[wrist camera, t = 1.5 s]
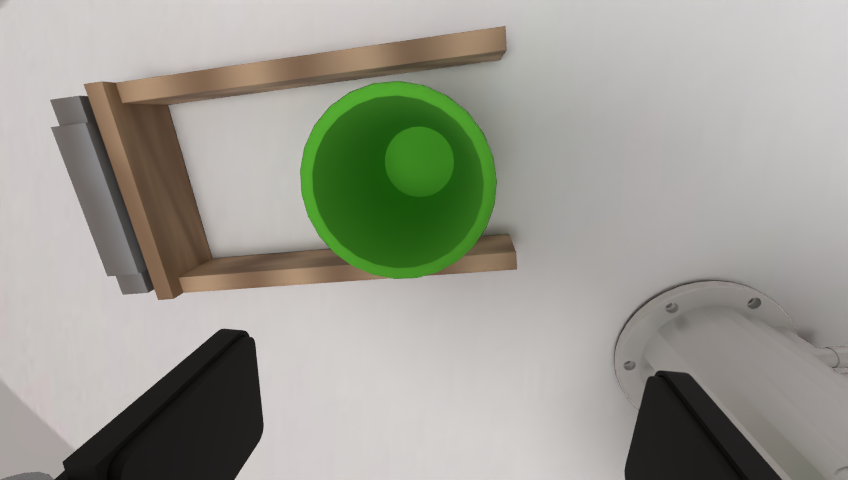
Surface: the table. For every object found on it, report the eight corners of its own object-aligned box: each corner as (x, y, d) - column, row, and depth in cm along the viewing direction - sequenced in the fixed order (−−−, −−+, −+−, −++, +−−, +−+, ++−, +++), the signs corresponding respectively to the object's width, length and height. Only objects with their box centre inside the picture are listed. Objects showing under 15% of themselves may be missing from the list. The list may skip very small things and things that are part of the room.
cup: (339, 120, 28) (266, 122, 17) (462, 75, 26) (463, 48, 16) (383, 236, 30) (341, 300, 20) (498, 201, 28) (519, 251, 18)
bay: (498, 39, 25) (508, 20, 20) (509, 249, 29) (519, 277, 24) (112, 94, 29) (36, 89, 23) (172, 275, 33) (118, 304, 28)
